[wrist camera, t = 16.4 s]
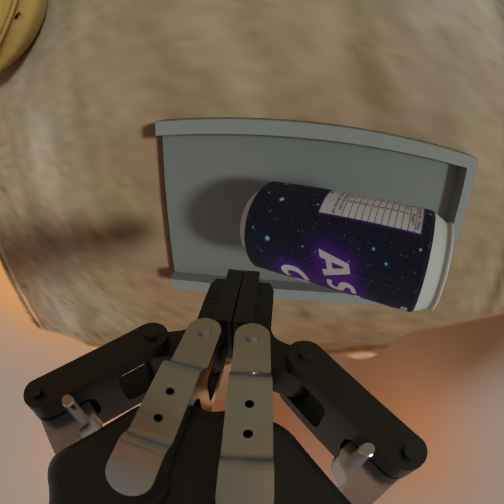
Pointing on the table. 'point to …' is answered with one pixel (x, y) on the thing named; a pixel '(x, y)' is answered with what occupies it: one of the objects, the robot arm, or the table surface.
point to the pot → (19, 27)
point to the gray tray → (295, 172)
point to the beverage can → (349, 243)
